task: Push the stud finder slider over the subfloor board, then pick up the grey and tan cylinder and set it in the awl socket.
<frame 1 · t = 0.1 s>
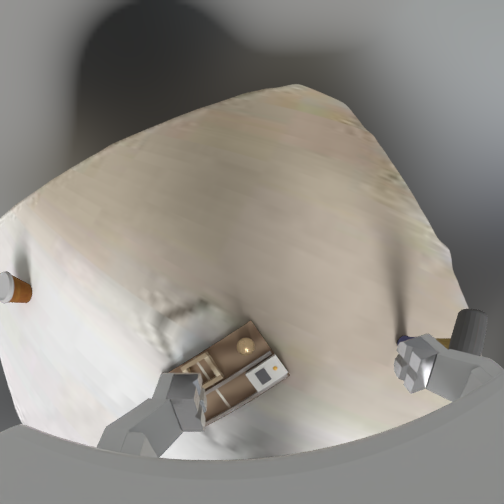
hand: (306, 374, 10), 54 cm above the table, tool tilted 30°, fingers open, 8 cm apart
stud finder slider: (266, 373, 56), point 3 cm above the table, slide at 0.0 cm
awl socket: (204, 370, 59), resting on subfloor board
disposable coffee cup: (26, 293, 63), on the table
grey and tan cylinder: (246, 344, 60), point 1 cm above the table, touching subfloor board
subfloor board: (224, 377, 59), on the table
rubber mallet: (400, 343, 61), on the table
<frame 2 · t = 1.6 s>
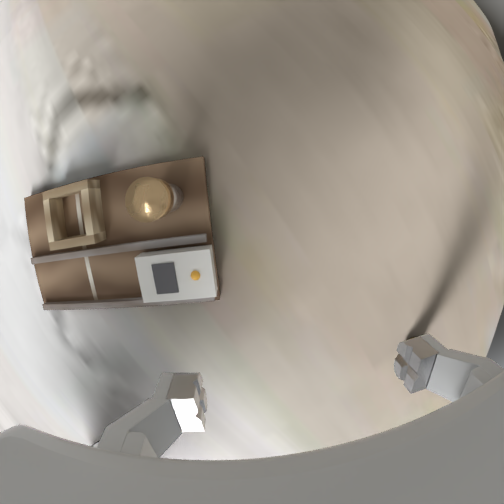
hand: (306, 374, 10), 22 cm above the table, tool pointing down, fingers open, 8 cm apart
stud finder slider: (176, 274, 28), point 3 cm above the table, slide at 0.0 cm
awl socket: (85, 213, 29), resting on subfloor board
grey and tan cylinder: (170, 197, 28), point 1 cm above the table, touching subfloor board
subfloor board: (109, 241, 30), on the table
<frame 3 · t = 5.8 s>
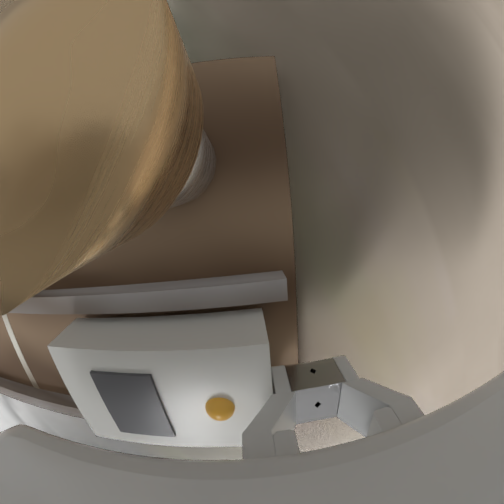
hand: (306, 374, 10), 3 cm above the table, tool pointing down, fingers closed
stud finder slider: (164, 390, 9), point 4 cm above the table, slide at 1.4 cm, touching gripper
grey and tan cylinder: (174, 163, 9), point 1 cm above the table, touching subfloor board
subfloor board: (40, 276, 11), on the table
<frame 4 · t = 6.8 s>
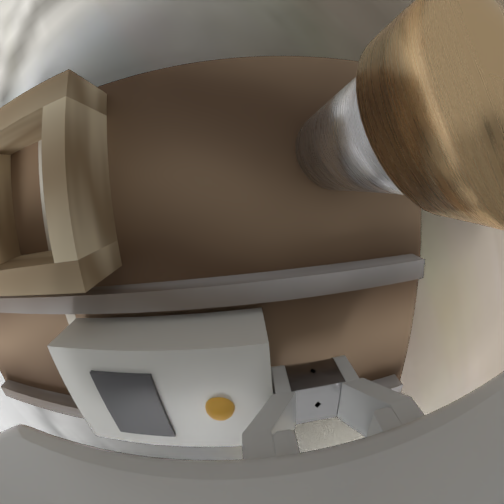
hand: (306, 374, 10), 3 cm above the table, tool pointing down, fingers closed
stud finder slider: (164, 389, 9), point 3 cm above the table, slide at 7.3 cm, touching gripper
awl socket: (63, 192, 10), resting on subfloor board
grey and tan cylinder: (334, 150, 9), point 1 cm above the table, touching subfloor board
subfloor board: (127, 268, 11), on the table
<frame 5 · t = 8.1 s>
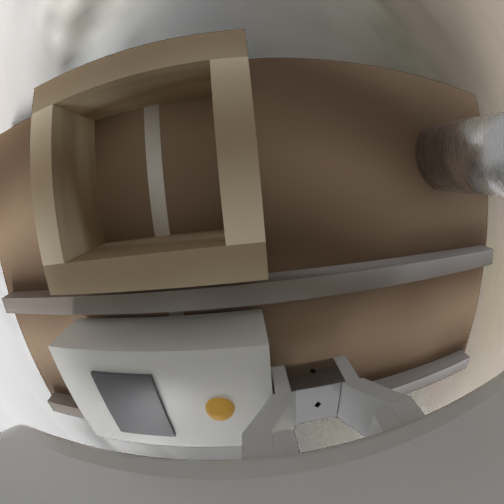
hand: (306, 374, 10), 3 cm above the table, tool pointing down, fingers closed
stud finder slider: (164, 390, 9), point 4 cm above the table, slide at 12.6 cm, touching gripper
awl socket: (165, 171, 11), resting on subfloor board
grey and tan cylinder: (439, 158, 9), point 1 cm above the table, touching subfloor board
subfloor board: (246, 257, 12), on the table
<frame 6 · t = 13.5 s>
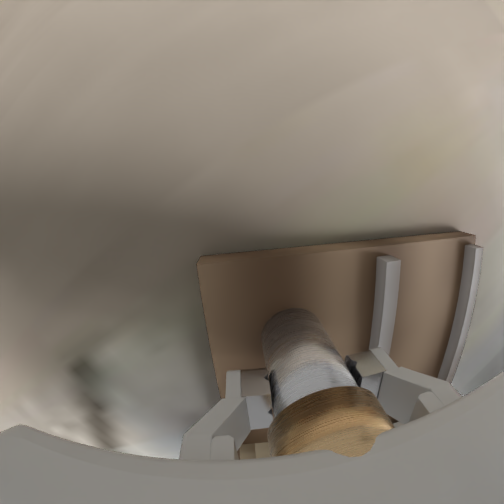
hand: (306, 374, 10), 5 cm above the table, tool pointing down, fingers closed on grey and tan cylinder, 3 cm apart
stud finder slider: (393, 461, 14), point 3 cm above the table, slide at 13.1 cm
awl socket: (289, 448, 17), resting on subfloor board
grey and tan cylinder: (292, 335, 13), point 1 cm above the table, touching gripper, subfloor board
subfloor board: (342, 417, 16), on the table
when the fingers open (6 cm above the table, at t = 18.5 s): grey and tan cylinder stays where it is, resting on subfloor board.
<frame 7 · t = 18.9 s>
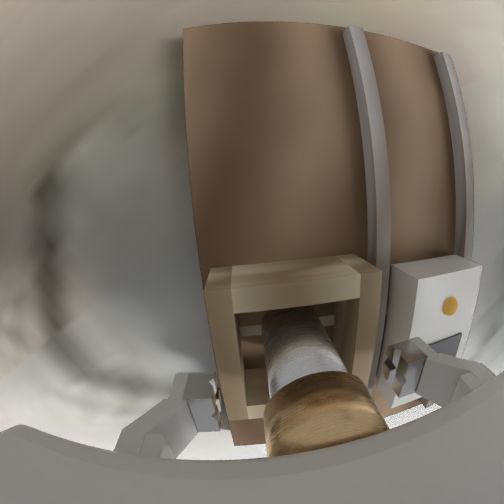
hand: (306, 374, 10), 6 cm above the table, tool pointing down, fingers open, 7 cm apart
stud finder slider: (431, 334, 12), point 4 cm above the table, slide at 13.1 cm
awl socket: (283, 313, 15), resting on subfloor board
grey and tan cylinder: (290, 326, 14), point 2 cm above the table, touching subfloor board
subfloor board: (351, 255, 15), on the table
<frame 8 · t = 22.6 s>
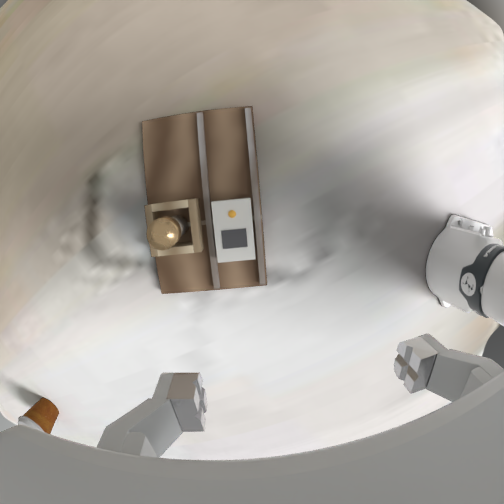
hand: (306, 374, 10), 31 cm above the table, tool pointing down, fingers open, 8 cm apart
stud finder slider: (233, 229, 36), point 3 cm above the table, slide at 13.1 cm
awl socket: (179, 224, 39), resting on subfloor board
disposable coffee cup: (49, 405, 47), on the table
grey and tan cylinder: (177, 225, 37), point 2 cm above the table, touching subfloor board
subfloor board: (203, 200, 38), on the table
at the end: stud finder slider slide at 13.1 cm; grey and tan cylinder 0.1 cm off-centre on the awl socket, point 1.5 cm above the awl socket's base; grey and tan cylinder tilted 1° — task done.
